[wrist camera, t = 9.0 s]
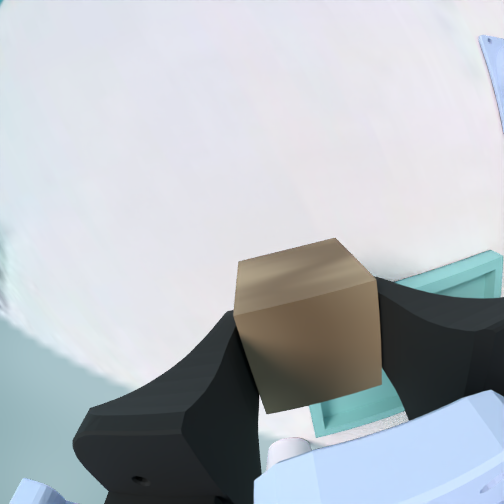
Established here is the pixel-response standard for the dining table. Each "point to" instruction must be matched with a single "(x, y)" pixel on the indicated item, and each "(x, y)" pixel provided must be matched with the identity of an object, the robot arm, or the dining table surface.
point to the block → (308, 325)
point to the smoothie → (286, 450)
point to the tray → (383, 396)
